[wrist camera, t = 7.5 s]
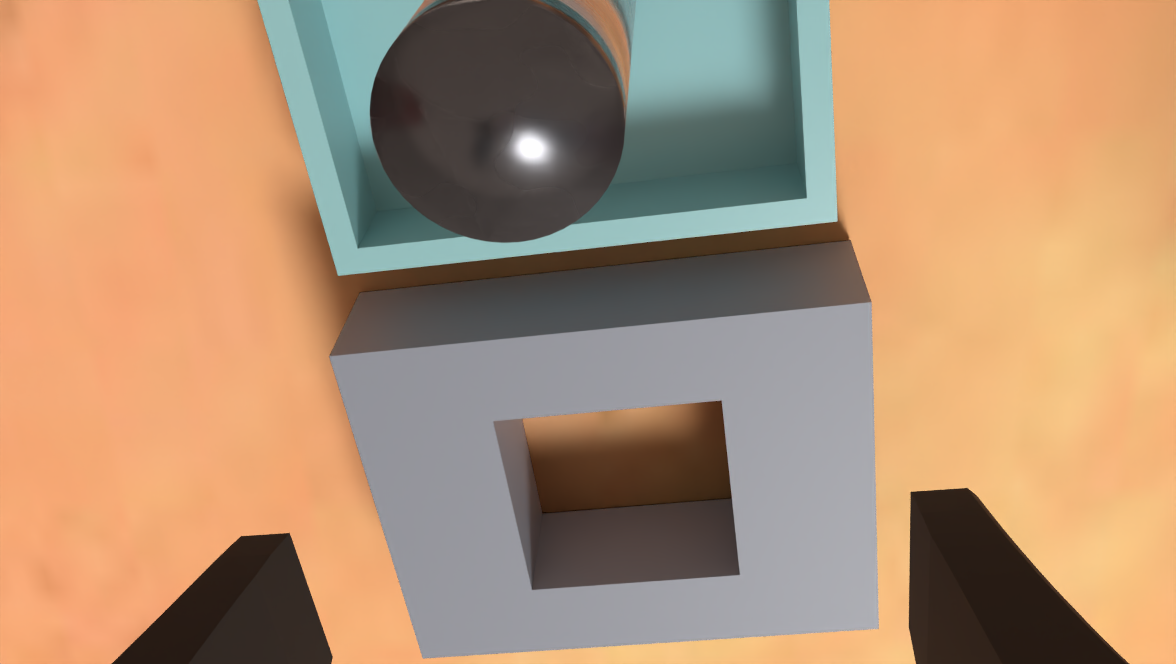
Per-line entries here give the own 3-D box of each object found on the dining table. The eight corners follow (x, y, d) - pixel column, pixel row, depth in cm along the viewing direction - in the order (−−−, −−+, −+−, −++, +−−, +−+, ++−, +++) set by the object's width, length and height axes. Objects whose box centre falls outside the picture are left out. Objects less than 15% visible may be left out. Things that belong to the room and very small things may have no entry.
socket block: (850, 240, 22) (871, 302, 20) (860, 549, 26) (878, 628, 24) (359, 292, 23) (329, 356, 21) (441, 580, 27) (422, 658, 25)
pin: (626, -121, 18) (607, -19, 12) (647, 59, 20) (638, 230, 14) (447, -97, 18) (341, 14, 12) (480, 78, 20) (401, 253, 14)
